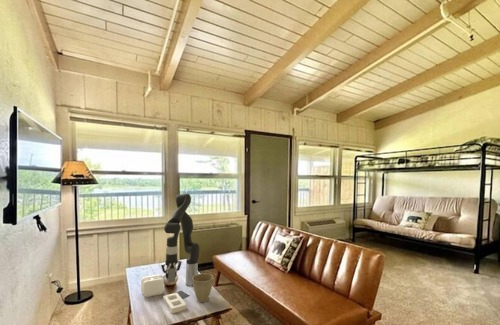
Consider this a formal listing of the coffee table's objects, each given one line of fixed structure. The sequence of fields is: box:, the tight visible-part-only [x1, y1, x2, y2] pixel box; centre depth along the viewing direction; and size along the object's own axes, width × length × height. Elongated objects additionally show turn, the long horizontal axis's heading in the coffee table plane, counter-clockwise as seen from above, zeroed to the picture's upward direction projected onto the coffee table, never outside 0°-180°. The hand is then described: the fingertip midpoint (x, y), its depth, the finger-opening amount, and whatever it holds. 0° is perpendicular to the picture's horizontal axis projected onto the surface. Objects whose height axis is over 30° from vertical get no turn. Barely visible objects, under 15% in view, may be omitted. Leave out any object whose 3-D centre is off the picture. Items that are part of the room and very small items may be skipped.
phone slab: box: [175, 290, 190, 300], centre depth 190 cm, size 6×11×1 cm, turn 48°
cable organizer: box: [140, 274, 165, 298], centre depth 191 cm, size 15×11×12 cm
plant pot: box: [192, 272, 214, 303], centre depth 183 cm, size 15×15×16 cm
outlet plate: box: [162, 292, 188, 314], centre depth 175 cm, size 10×20×3 cm, turn 34°
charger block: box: [166, 267, 177, 284], centre depth 174 cm, size 4×4×9 cm
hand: (171, 277), depth 174 cm, fingers closed on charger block, 4 cm apart
